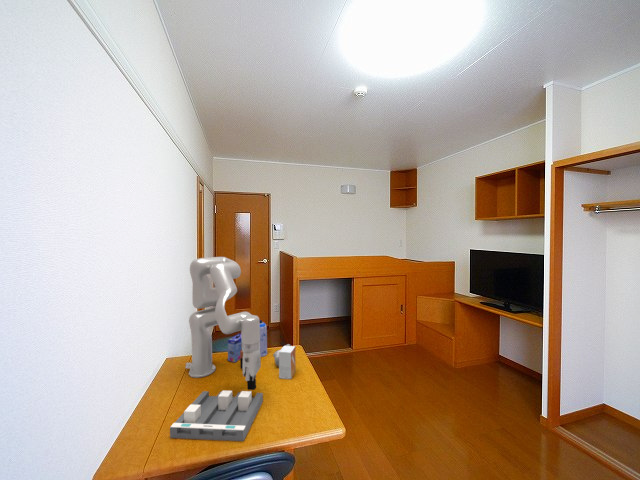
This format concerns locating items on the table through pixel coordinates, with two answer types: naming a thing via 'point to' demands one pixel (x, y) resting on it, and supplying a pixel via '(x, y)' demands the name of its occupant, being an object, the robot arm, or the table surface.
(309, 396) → the table surface
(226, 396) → the switch tab middle
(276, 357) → the voltmeter
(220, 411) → the switch panel
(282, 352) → the small box
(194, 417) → the switch tab left
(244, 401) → the switch tab right
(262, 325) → the aerosol can
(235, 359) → the ink cartridge box
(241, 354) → the battery
